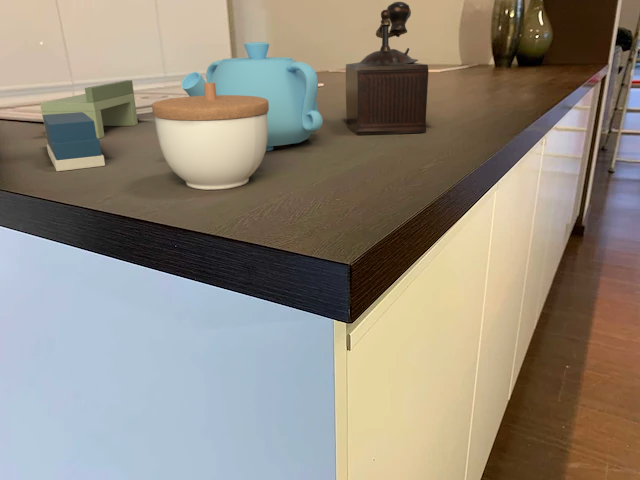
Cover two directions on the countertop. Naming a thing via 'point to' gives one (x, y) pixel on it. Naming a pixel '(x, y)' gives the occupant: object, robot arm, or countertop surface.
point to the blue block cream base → (72, 141)
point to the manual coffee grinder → (387, 84)
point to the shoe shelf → (99, 105)
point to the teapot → (268, 90)
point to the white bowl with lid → (212, 137)
